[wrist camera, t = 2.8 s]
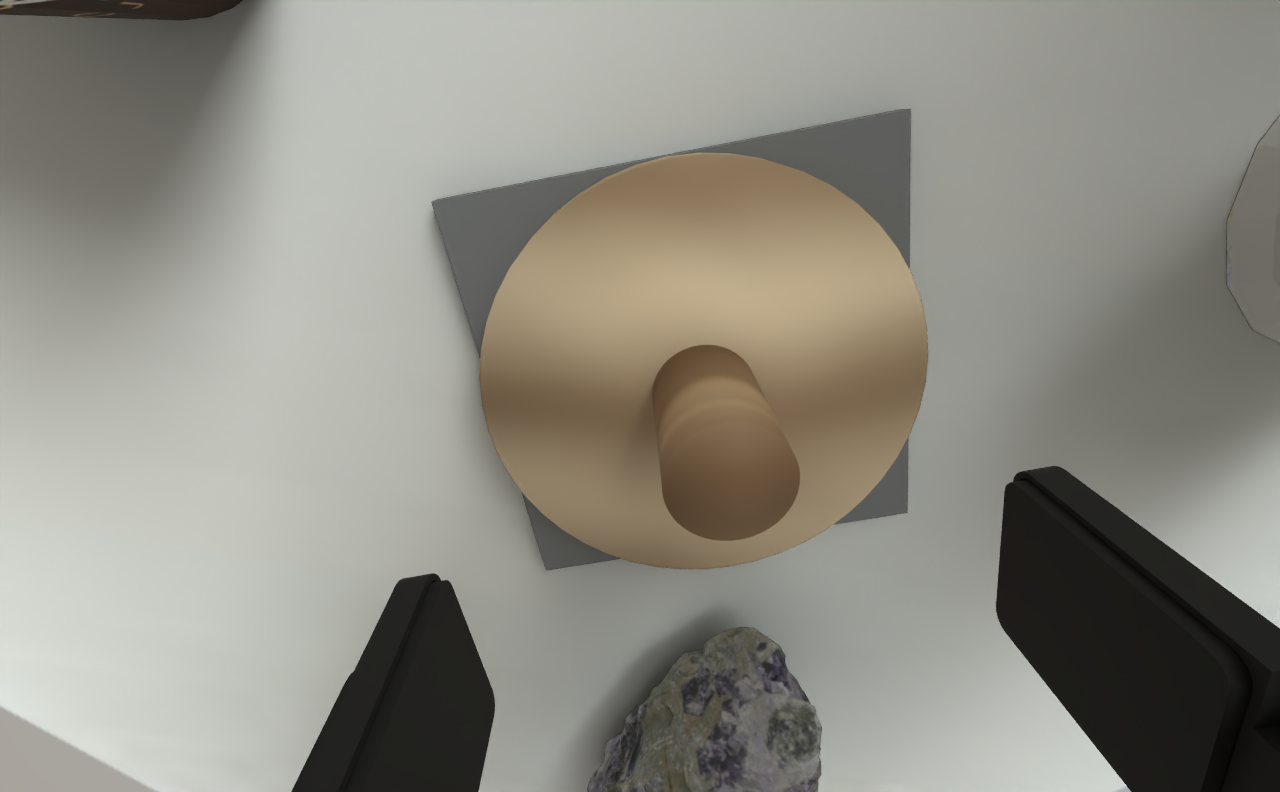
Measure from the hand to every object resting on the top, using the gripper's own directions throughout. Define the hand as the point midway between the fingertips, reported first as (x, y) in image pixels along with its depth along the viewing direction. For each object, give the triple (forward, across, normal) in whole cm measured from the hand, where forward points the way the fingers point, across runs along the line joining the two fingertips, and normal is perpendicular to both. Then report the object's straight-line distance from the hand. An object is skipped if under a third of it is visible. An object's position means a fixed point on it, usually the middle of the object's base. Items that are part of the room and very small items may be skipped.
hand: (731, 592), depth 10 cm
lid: (+8, -1, -1) cm, 8 cm away
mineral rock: (+9, +1, +16) cm, 18 cm away
